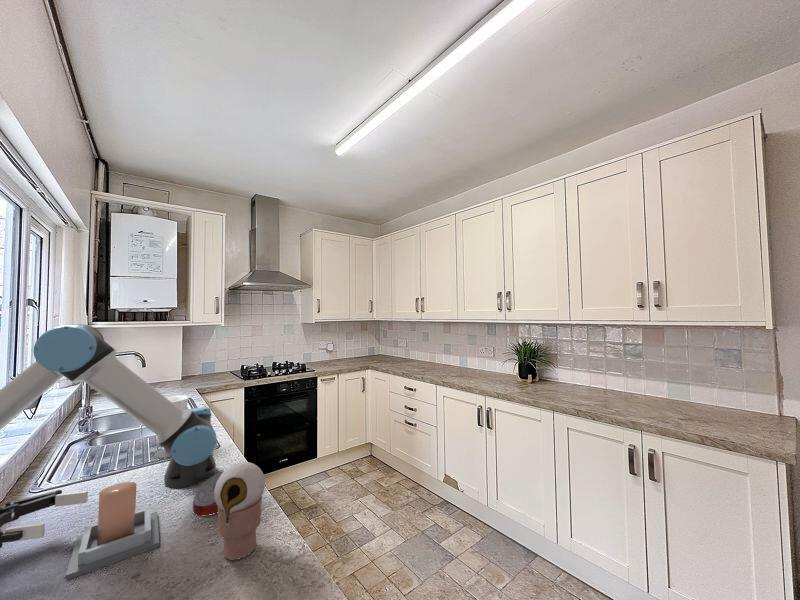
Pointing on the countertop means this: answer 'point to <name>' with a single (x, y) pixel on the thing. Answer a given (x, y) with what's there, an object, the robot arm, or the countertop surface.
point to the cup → (182, 404)
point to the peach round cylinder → (116, 512)
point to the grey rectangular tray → (113, 545)
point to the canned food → (206, 497)
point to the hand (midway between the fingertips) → (67, 512)
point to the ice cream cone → (239, 507)
